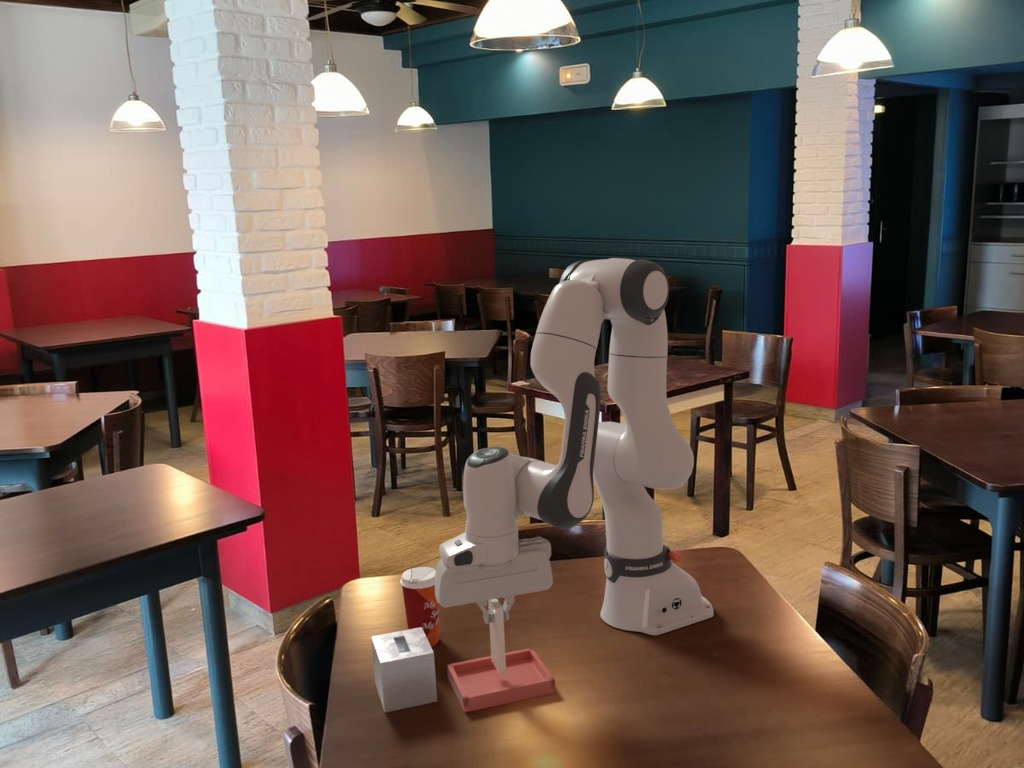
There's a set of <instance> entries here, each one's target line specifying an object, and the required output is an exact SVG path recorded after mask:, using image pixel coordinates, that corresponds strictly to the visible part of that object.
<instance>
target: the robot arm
mask: <svg viewBox="0 0 1024 768" xmlns="http://www.w3.org/2000/svg"><path fill="white" fill-rule="evenodd" d="M561 274H562V275H561V276H560V279H559V281H558V284H556V285H555V286H554V287H553V289H552V291H551V293H550V295H549V297H548V299H547V300H546V303H545V305H544V307H543V311H542V313H541V316H540V319H539V320H538V324H537V328H536V331H535V335H534V338H533V341H532V347H531V351H530V363H529V365H530V368H531V371H532V373H533V375H534V377H535V379H536V381H538V382H539V384H540V385H541V386H542V387H543V388H544V389H546V391H548V392H549V393H550V394H552V395H553V396H554V397H555V398H556V399H557V400H558V402H559V403H560V405H561V407H562V410H563V412H564V426H563V431H562V439H561V440H562V441H561V447H560V448H561V449H560V457H559V462H558V463H557V464H553V463H551V462H545V461H543V460H539V459H536V458H532V457H527V456H520V455H517V454H514V453H513V452H511V451H509V450H508V449H507V448H505V447H503V446H491V447H490V446H489V447H484V448H481V449H478V450H476V451H474V452H473V453H471V454H470V455H469V456H468V457H467V459H466V462H465V464H464V469H463V476H462V479H463V480H462V486H463V487H462V491H463V492H462V493H463V496H462V497H463V506H464V510H465V512H466V513H465V514H466V522H465V526H464V527H465V528H464V529H465V531H464V532H461V534H458V535H456V536H455V537H453V538H450V539H448V540H446V541H444V542H442V543H441V544H439V548H438V550H439V551H438V552H439V555H440V560H439V561H438V562H437V565H436V566H435V570H436V573H435V597H436V600H437V602H438V603H439V606H441V607H442V608H450V607H455V606H456V607H457V606H462V605H467V604H473V603H476V604H477V606H478V607H479V609H480V610H481V611H482V616H483V617H482V618H483V622H484V624H485V625H486V624H489V623H493V622H494V619H493V618H494V613H493V612H492V610H489V609H487V608H486V607H487V606H488V600H492V599H497V600H498V599H504V602H503V604H502V607H503V617H504V621H509V620H510V617H509V616H510V615H509V614H510V613H509V612H510V610H511V609H512V606H513V604H514V603H515V596H519V595H525V594H532V593H538V592H542V591H548V590H549V589H551V587H552V585H553V584H554V581H553V572H552V565H551V561H550V558H551V556H552V546H551V545H552V544H551V543H550V541H549V540H548V539H546V538H543V537H541V536H535V537H533V538H522V539H519V529H518V528H519V527H518V517H519V516H521V515H524V516H528V517H531V518H534V519H537V520H541V521H542V522H545V524H548V525H550V526H552V527H555V528H556V529H558V530H570V529H571V528H573V527H576V526H577V525H578V524H580V523H581V522H583V521H584V520H585V519H586V518H587V517H588V515H589V514H590V512H591V510H592V508H593V504H594V501H595V500H594V499H595V497H594V496H595V489H594V487H595V488H596V491H597V492H598V496H599V498H600V501H601V504H602V507H603V508H602V509H603V513H604V522H605V540H606V541H605V542H606V546H605V548H604V563H603V564H604V565H603V566H604V574H605V577H606V580H605V591H604V598H603V602H602V607H601V610H600V618H601V619H602V621H603V622H604V623H606V624H607V625H609V626H611V627H613V628H616V629H619V630H623V631H630V632H640V633H643V634H647V635H650V636H659V635H663V634H665V633H669V632H672V631H674V630H678V629H681V628H683V627H687V626H690V625H693V624H696V623H699V622H702V621H705V620H707V619H710V618H711V619H712V618H713V617H714V608H713V605H712V603H711V602H710V601H709V600H708V599H707V598H705V597H704V596H703V595H702V593H701V589H700V586H699V584H698V582H697V580H696V579H695V578H694V577H693V576H692V575H690V574H689V573H688V572H687V571H685V570H683V569H682V568H681V567H679V566H678V565H676V564H677V563H679V562H680V561H681V560H682V555H681V554H680V553H679V552H678V551H676V549H672V550H671V548H670V547H669V546H667V545H665V544H664V539H663V538H664V537H663V513H662V510H661V508H660V506H659V504H658V503H657V502H656V501H655V500H654V499H653V498H652V496H651V495H649V493H648V492H647V489H646V488H650V489H653V490H654V489H655V490H656V489H657V490H675V489H679V488H680V487H682V486H683V485H684V484H685V483H686V482H687V481H688V480H689V478H690V477H691V475H692V472H693V469H694V464H695V463H694V462H695V461H694V460H695V458H694V452H693V450H692V447H691V445H690V444H689V442H688V441H687V440H686V439H685V438H684V437H683V436H682V434H681V433H680V431H679V430H678V428H677V427H676V424H675V423H674V420H673V417H672V413H671V412H670V407H669V404H668V397H667V373H668V371H667V370H668V369H667V367H668V365H667V364H668V351H669V350H668V349H669V348H668V347H669V346H668V343H669V342H668V341H669V340H668V339H669V338H668V336H669V335H668V325H667V316H666V311H665V308H666V307H667V306H666V305H667V303H668V300H669V295H670V281H669V279H668V276H667V274H666V272H665V270H664V268H663V267H662V266H661V265H660V264H658V263H656V262H653V261H651V260H647V259H631V258H620V257H612V258H607V259H606V258H605V259H604V258H603V259H594V260H591V259H583V260H578V261H576V262H573V263H571V264H570V265H568V266H567V267H566V269H565V270H564V271H563V273H561ZM605 320H609V321H610V323H611V332H610V341H609V351H608V370H607V371H608V372H607V393H608V396H609V398H610V399H611V400H612V401H613V403H614V404H616V406H617V407H618V408H619V409H620V412H621V414H622V415H623V419H624V422H625V423H620V422H615V421H600V412H601V404H602V403H601V401H602V399H601V398H602V397H601V385H600V383H599V380H598V379H597V378H596V376H595V375H596V374H595V358H596V353H597V348H598V345H599V339H600V334H601V330H602V329H601V328H602V323H603V322H604V321H605ZM645 487H646V488H645ZM674 563H675V564H674Z"/></svg>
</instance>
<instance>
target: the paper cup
mask: <svg viewBox="0 0 1024 768" xmlns="http://www.w3.org/2000/svg"><path fill="white" fill-rule="evenodd" d="M435 573H436V568H433V567H428V566H418V567H412V568H409V569H407V570H405V571H404V572H403V573H402V574H401V578H400V580H399V584H400V585H401V587H402V595H403V603H404V608H405V616H406V623H407V630H409V629H414V628H420V627H422V629H423V631H424V633H425V635H426V637H427V639H428V642H429V644H430V646H431V648H432V647H434V645H435V646H436V645H437V644H438V643H439V641H440V604H439V603H438V602H437V600H436V597H435Z"/></svg>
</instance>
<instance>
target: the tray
mask: <svg viewBox="0 0 1024 768" xmlns="http://www.w3.org/2000/svg"><path fill="white" fill-rule="evenodd" d="M505 658H506V673H504V674H499V673H498V671H497V669H496V668H495V666H494V664H493V663H492V661H491V655H489V656H483V657H479V658H474V659H469V660H465V661H464V660H463V661H459V662H458V661H457V662H452V663H449V664H446V671H447V679H448V681H449V684H450V685H451V687H452V689H453V691H454V694H455V696H456V699H458V702H459V704H460V706H461V708H462V710H463V712H464V713H469V712H474V711H479V710H482V709H488V708H492V707H496V706H497V707H498V706H502V705H506V704H510V703H515V702H520V701H524V700H529V699H533V698H537V697H542V696H547V695H553V694H556V679H555V678H554V676H553V675H552V674H551V672H550V670H549V669H548V668H547V666H546V665H545V663H544V662H543V661H542V659H541V658H540V656H539V655H538V654H537V652H536V651H535V649H534V648H533V647H529V648H524V649H519V650H513V651H510V652H505Z"/></svg>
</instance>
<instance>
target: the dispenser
mask: <svg viewBox="0 0 1024 768" xmlns="http://www.w3.org/2000/svg"><path fill="white" fill-rule="evenodd" d="M370 637H371V639H370V640H371V650H372V660H373V662H372V663H373V672H374V683H375V687H376V689H377V693H378V696H379V699H380V702H381V706H382V709H383V712H384V713H390V712H394V711H398V710H399V711H400V710H404V709H409V708H414V707H418V706H423V705H427V704H433V703H436V702H438V693H437V681H436V679H437V678H436V677H437V676H436V666H435V653H434V650H433V648H432V647H431V646H430V644H429V642H428V639H427V637H426V635H425V633H424V631H423V629H422V627H420V628H414V629H409V630H408V629H405V630H399V631H393V632H389V633H383V634H377V635H372V636H370ZM432 702H433V703H432Z"/></svg>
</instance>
